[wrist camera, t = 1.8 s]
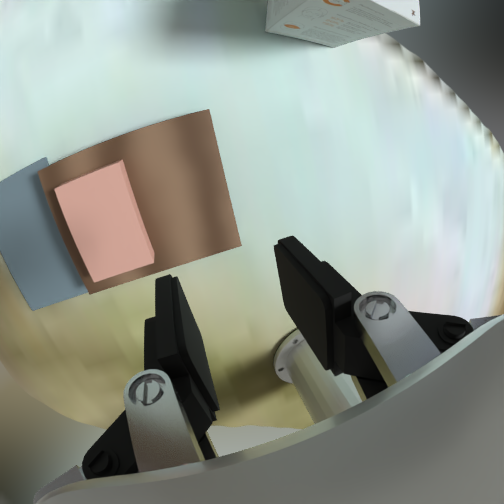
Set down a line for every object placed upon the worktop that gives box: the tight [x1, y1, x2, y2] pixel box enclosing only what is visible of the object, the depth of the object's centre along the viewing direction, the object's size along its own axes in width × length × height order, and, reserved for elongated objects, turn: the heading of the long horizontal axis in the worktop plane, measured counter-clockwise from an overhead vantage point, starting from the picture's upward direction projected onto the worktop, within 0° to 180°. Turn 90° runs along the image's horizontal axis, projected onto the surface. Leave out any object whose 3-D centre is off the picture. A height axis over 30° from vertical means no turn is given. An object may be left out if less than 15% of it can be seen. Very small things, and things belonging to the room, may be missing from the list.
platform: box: [38, 109, 242, 294], centre depth 25 cm, size 16×13×3 cm
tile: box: [54, 159, 154, 283], centre depth 22 cm, size 6×9×2 cm, turn 11°
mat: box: [0, 157, 88, 311], centre depth 24 cm, size 10×15×1 cm, turn 11°
